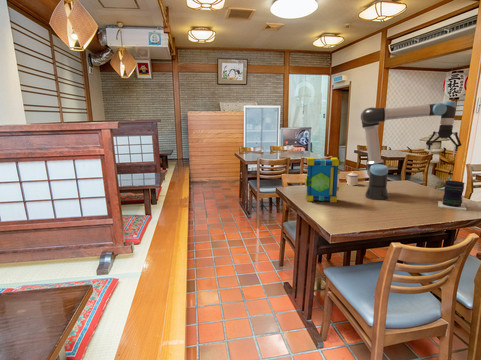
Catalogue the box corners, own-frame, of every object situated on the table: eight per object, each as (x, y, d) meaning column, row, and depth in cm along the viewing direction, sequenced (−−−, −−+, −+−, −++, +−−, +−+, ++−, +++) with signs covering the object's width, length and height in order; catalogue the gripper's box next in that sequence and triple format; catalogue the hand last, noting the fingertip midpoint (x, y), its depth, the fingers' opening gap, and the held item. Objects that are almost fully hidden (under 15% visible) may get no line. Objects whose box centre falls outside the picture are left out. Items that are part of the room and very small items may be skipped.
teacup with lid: (360, 185, 242) (361, 172, 240) (352, 186, 239) (353, 173, 236) (349, 182, 253) (350, 170, 251) (341, 183, 250) (342, 170, 247)
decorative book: (304, 197, 207) (305, 156, 201) (337, 198, 202) (339, 157, 196) (304, 202, 193) (306, 159, 187) (339, 204, 189) (342, 159, 183)
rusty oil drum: (465, 207, 175) (468, 183, 172) (449, 207, 176) (452, 184, 173) (453, 202, 185) (456, 180, 182) (438, 202, 185) (441, 180, 182)
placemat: (438, 207, 178) (438, 206, 178) (437, 202, 190) (437, 200, 190) (466, 211, 171) (466, 209, 171) (463, 205, 182) (464, 203, 182)
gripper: (468, 125, 189) (463, 156, 193) (424, 124, 202) (420, 153, 206) (470, 124, 183) (464, 157, 187) (424, 124, 196) (420, 154, 200)
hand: (441, 155), depth 196 cm, fingers open, 13 cm apart
